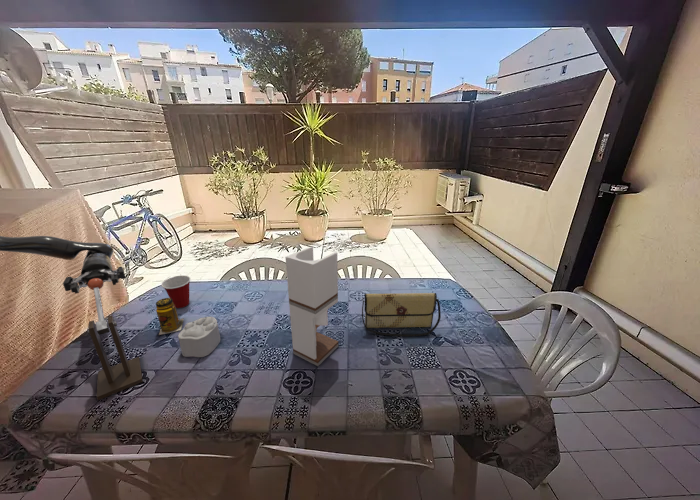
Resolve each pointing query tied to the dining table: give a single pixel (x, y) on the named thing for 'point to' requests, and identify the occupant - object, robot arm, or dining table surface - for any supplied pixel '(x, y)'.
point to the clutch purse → (400, 311)
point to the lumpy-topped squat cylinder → (199, 337)
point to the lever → (99, 305)
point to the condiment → (168, 316)
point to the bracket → (118, 374)
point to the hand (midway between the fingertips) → (95, 286)
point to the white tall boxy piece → (311, 302)
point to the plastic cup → (178, 290)
